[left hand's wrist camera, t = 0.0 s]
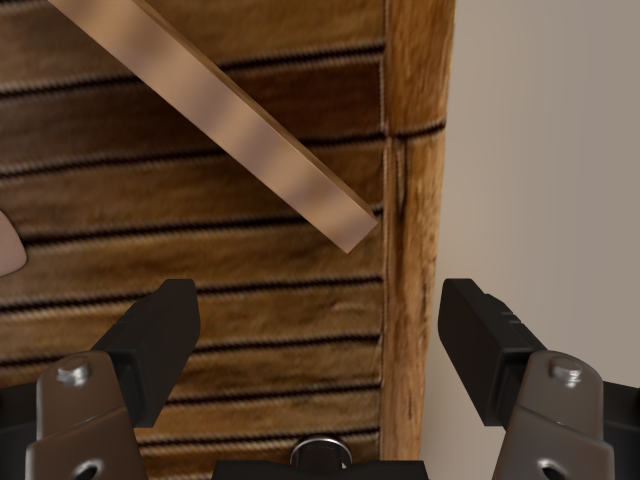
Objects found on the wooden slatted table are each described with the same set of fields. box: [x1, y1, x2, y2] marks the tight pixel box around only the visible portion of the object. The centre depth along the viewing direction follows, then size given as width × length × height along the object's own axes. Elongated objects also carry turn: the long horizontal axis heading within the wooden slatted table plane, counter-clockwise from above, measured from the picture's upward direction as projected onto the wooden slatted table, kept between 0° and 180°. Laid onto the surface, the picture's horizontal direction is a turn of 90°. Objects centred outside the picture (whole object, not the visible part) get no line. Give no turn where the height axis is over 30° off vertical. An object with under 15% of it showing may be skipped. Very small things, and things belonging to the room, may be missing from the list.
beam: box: [48, 0, 378, 254], centre depth 32 cm, size 51×4×6 cm, turn 48°
